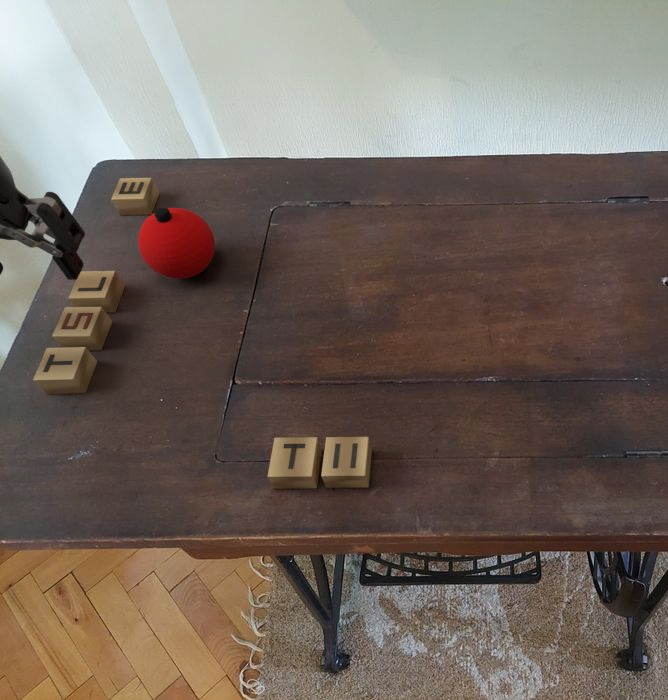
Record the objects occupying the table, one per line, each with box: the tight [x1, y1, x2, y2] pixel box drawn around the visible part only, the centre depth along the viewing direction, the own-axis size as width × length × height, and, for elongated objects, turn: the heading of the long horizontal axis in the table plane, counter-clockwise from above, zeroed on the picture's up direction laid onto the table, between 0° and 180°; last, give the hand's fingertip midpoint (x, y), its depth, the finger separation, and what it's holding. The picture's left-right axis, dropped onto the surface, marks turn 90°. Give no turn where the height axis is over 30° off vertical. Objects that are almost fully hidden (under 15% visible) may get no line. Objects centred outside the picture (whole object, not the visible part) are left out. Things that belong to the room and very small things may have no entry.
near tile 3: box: [321, 436, 373, 489], centre depth 69 cm, size 4×4×3 cm
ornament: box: [137, 207, 216, 280], centre depth 83 cm, size 9×9×10 cm
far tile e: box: [110, 177, 160, 216], centre depth 93 cm, size 4×4×3 cm
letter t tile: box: [32, 347, 98, 395], centre depth 75 cm, size 4×4×3 cm
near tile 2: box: [267, 436, 323, 490], centre depth 68 cm, size 4×4×3 cm
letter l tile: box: [68, 270, 126, 314], centre depth 82 cm, size 4×4×3 cm
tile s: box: [51, 306, 113, 352], centre depth 79 cm, size 4×4×3 cm
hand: (37, 274), depth 71 cm, fingers open, 8 cm apart
